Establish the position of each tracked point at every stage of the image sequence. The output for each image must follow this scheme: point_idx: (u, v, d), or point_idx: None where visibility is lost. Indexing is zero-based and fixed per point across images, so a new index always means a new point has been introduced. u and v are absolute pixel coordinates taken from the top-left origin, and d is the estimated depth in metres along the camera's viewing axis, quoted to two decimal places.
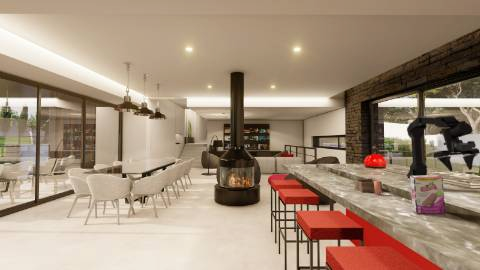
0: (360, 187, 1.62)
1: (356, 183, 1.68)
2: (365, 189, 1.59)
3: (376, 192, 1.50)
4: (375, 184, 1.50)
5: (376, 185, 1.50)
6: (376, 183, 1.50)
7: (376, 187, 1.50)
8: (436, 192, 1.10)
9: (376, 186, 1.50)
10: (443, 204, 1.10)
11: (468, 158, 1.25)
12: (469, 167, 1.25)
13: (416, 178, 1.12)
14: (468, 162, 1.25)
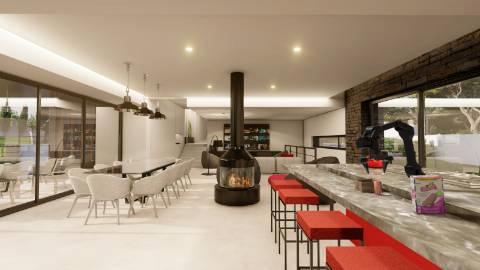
0: (360, 187, 1.62)
1: (356, 183, 1.68)
2: (365, 189, 1.59)
3: (376, 192, 1.50)
4: (375, 184, 1.50)
5: (376, 185, 1.50)
6: (376, 183, 1.50)
7: (376, 187, 1.50)
8: (436, 192, 1.10)
9: (376, 186, 1.50)
10: (443, 204, 1.10)
11: (384, 163, 1.50)
12: (383, 171, 1.51)
13: (416, 178, 1.12)
14: (383, 167, 1.51)
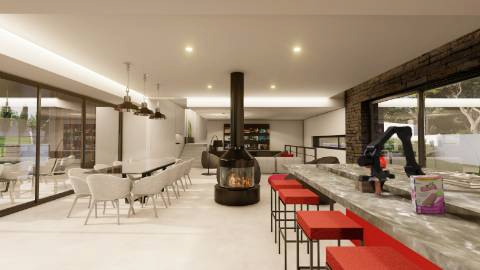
0: (360, 187, 1.62)
1: (356, 183, 1.68)
2: (365, 189, 1.59)
3: (376, 192, 1.50)
4: (375, 184, 1.50)
5: (376, 185, 1.50)
6: (376, 183, 1.50)
7: (376, 187, 1.50)
8: (436, 192, 1.10)
9: (376, 186, 1.50)
10: (443, 204, 1.10)
11: (380, 182, 1.50)
12: None
13: (416, 178, 1.12)
14: (380, 185, 1.51)
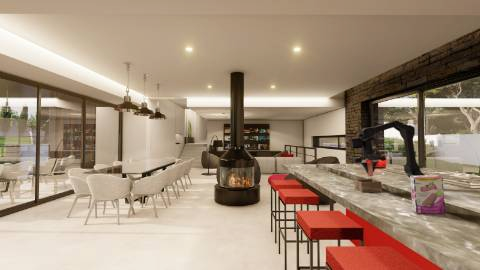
0: (360, 187, 1.62)
1: (356, 183, 1.68)
2: (365, 189, 1.59)
3: (368, 173, 1.59)
4: (367, 166, 1.59)
5: (368, 167, 1.59)
6: (368, 165, 1.58)
7: (369, 169, 1.58)
8: (436, 192, 1.10)
9: (368, 168, 1.59)
10: (443, 204, 1.10)
11: (373, 163, 1.59)
12: None
13: (416, 178, 1.12)
14: (372, 166, 1.60)
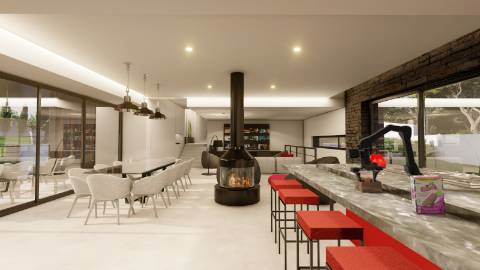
0: (360, 187, 1.62)
1: (356, 183, 1.68)
2: (365, 189, 1.59)
3: None
4: (365, 180, 1.64)
5: (366, 181, 1.64)
6: (366, 179, 1.64)
7: None
8: (436, 192, 1.10)
9: None
10: (443, 204, 1.10)
11: (374, 173, 1.64)
12: (373, 180, 1.65)
13: (416, 178, 1.12)
14: (374, 176, 1.65)
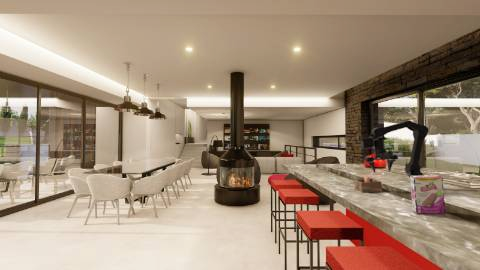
0: (360, 187, 1.62)
1: (356, 183, 1.68)
2: (365, 189, 1.59)
3: None
4: (365, 180, 1.64)
5: (366, 181, 1.64)
6: (366, 179, 1.64)
7: None
8: (436, 192, 1.10)
9: None
10: (443, 204, 1.10)
11: (389, 162, 1.61)
12: (389, 169, 1.61)
13: (416, 178, 1.12)
14: (389, 165, 1.61)
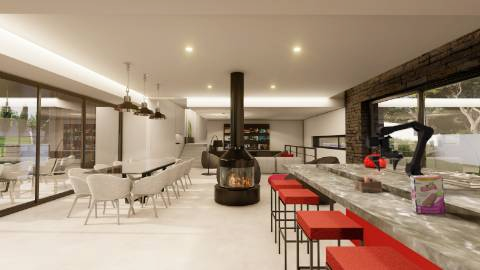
0: (360, 187, 1.62)
1: (356, 183, 1.68)
2: (365, 189, 1.59)
3: None
4: (365, 180, 1.64)
5: (366, 181, 1.64)
6: (366, 179, 1.64)
7: None
8: (436, 192, 1.10)
9: None
10: (443, 204, 1.10)
11: (394, 161, 1.60)
12: (394, 168, 1.60)
13: (416, 178, 1.12)
14: (394, 164, 1.60)
